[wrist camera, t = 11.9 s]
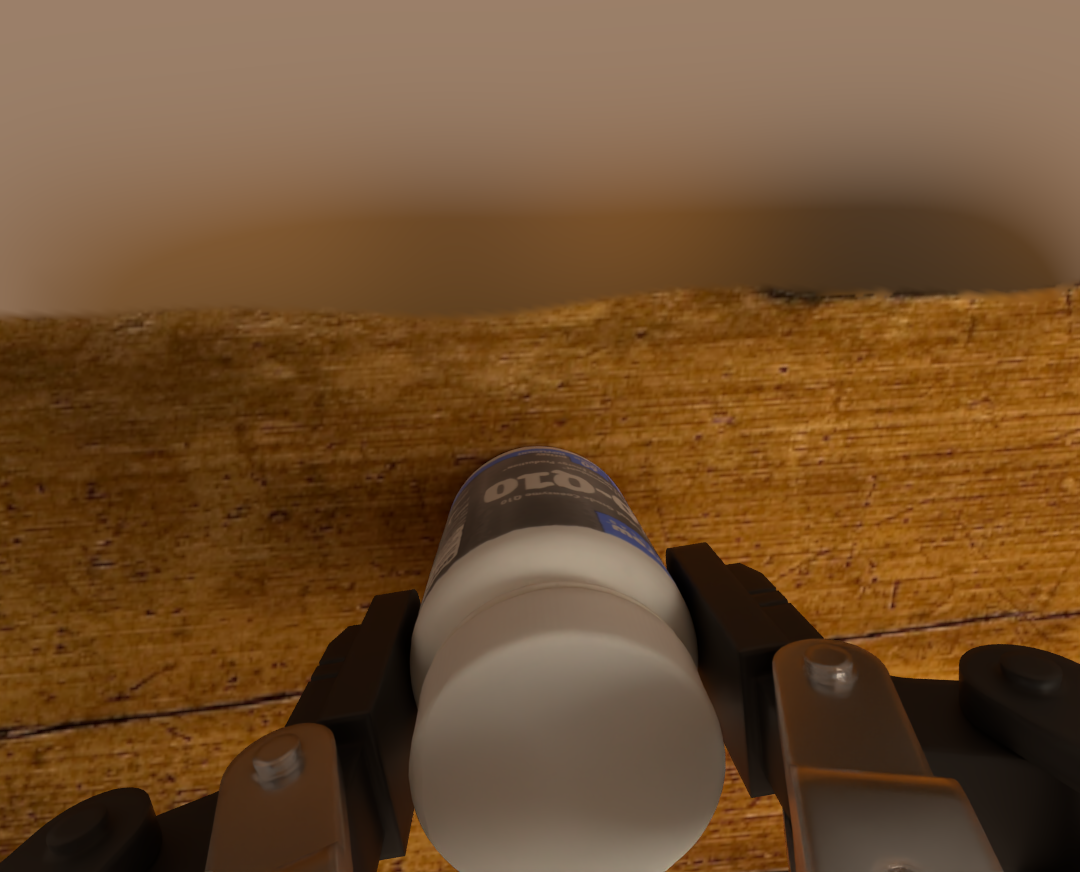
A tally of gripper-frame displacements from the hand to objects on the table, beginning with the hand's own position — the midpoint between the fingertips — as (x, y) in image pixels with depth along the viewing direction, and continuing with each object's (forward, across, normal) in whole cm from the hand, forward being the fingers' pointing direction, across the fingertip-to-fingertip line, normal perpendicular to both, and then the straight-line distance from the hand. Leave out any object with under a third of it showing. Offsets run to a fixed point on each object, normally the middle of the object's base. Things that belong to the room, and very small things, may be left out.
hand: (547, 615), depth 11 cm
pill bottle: (+5, 0, 0) cm, 5 cm away
